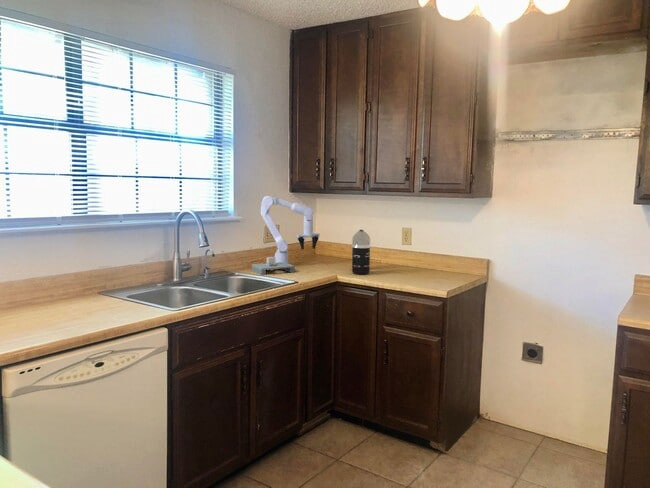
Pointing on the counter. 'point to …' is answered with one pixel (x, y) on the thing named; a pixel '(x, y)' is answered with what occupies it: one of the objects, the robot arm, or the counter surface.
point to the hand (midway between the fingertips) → (308, 249)
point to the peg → (270, 261)
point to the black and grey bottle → (361, 253)
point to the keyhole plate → (280, 265)
